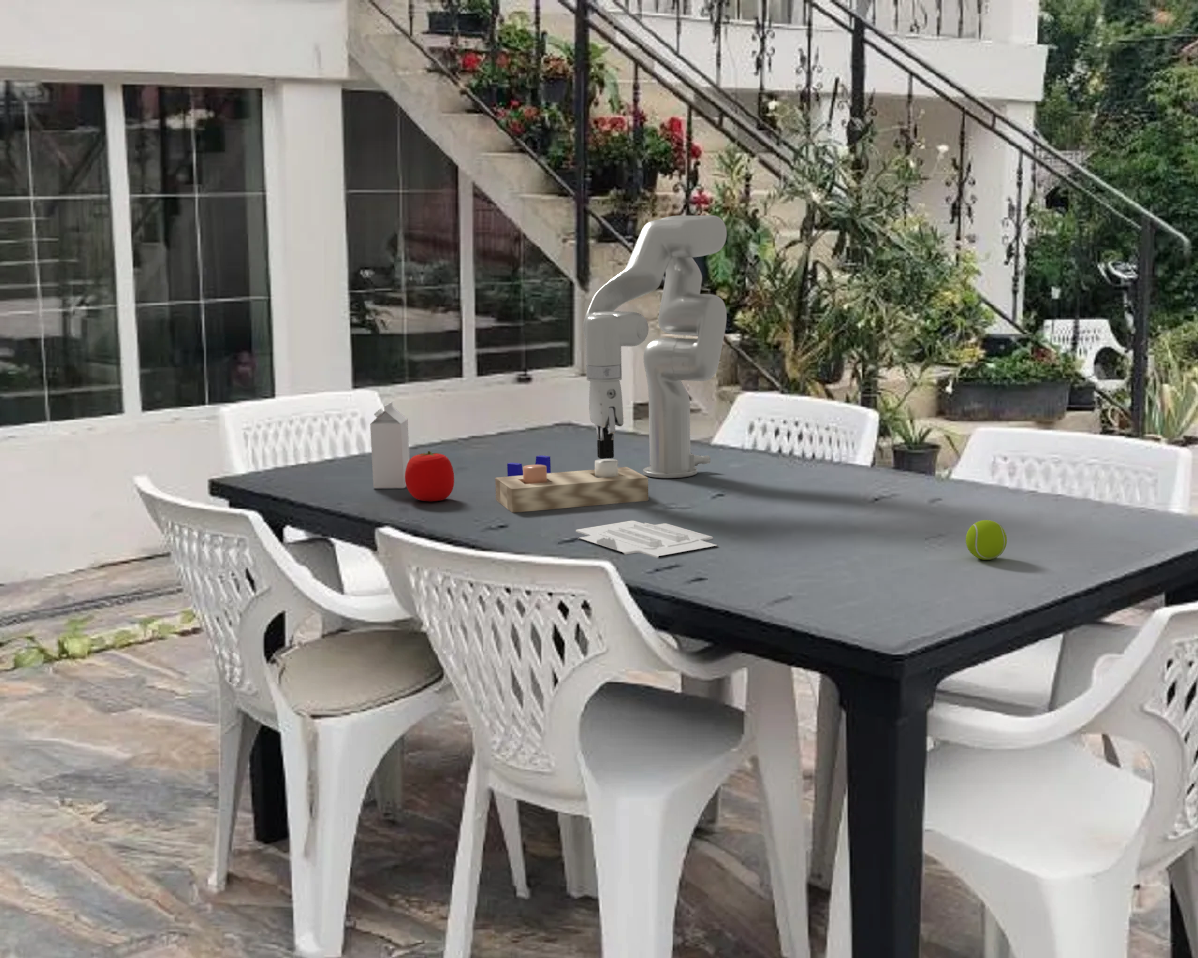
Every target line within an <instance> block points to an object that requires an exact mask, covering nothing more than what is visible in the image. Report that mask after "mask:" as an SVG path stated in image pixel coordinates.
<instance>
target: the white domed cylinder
mask: <svg viewBox="0 0 1198 958" xmlns="http://www.w3.org/2000/svg"><path fill="white" fill-rule="evenodd" d="M618 468H619V460H617V459H614V458H607V459H600V458H599V459H596V460H594V470H595V477H596V478H605V477H617V476H618Z"/></svg>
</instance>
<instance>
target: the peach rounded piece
mask: <svg viewBox="0 0 1198 958" xmlns="http://www.w3.org/2000/svg"><path fill="white" fill-rule="evenodd" d="M522 469H523V483H524V484H533V483H545V482H547V468H546V466H545V465H535V464H527V465H522Z"/></svg>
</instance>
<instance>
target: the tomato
mask: <svg viewBox="0 0 1198 958" xmlns="http://www.w3.org/2000/svg"><path fill="white" fill-rule="evenodd" d="M454 473H455V472H454V467H453V465H452V462H451V460H450V459H449V457H447V455H445V454H443V453H438V452H432V451H431V450H427V452H423V453H418V454H415V455H413V456H412V457H410V460H409V462H408V464H407V467H406V470H405V483H406V488H407V491H408V493H409V494H410V496H411V497H413V498H414V499H416V500H419V501H423V502H438V501H443V500H446V499H447V498H448V497H449V496H450V495H451V494H452V492H453V490H454V486H455V474H454Z"/></svg>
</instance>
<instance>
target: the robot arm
mask: <svg viewBox="0 0 1198 958" xmlns="http://www.w3.org/2000/svg"><path fill="white" fill-rule="evenodd" d="M727 232H728V231H727V227H726V224H725V222H724V221H723V220H722V218H720V217H719V216H717V215H672V216H666V217H663V218H659V219H653V220H650V221H648V222H646V224H644V226H643V227H642V229H641V231H640V233H639V235H638V238H637V240H636V242H635V244H634V247H633V249H632V252H631V253H630V256H629V259H628V262H627V263H626V266H625V268H624V270H622V271H621V272H619V273H618V274H616V275H615V276H613V277H612V278H611V279H610V280H608V282H606V283H605V284H603V286H602V287H600V288H598V289H599V290H597V292H596V293H595V294H594V296H593V297H592V299H591V301H590V303H589V306H588V308H587V311H586V313H585V316H584V320H583V323H582V333H583V336H584V339H585V362H586V363H585V365H586V366H585V368H586V370H585V371H586V381H587V382H589V391H588V392H589V394H588V395H589V396H588V403H589V404H588V410H589V411H588V412H589V420H590V422H591V423H592V424H594V426H595V430H596V438H597V440H596V446H597V447H596V448H597V449H596V451H597V458H598V459H599V460H600V459H614V457H615V447H614V446H615V445H614V444H615V443H614V439H615V434H616V432H617V431H616V426H617V427H622V426H623V425H624V423H625V422H624V421H625V420H624V407H623V395H622V394H623V393H622V386H621V381H622V380H623V379H622V378H623V377H622V372H623V371H622V347H627V348H628V347H629V348H630V347H636V346H639V345H641V344H642V343H643V342H644V341H646V339H647V337H648V335H649V323H648V320H647V318H646V317H645V316H644V315H642V314H641V313H639V312H635V311H621V310H620V311H619V310H617V309H618V308H619V307H620V306H622V305H624V304H626V303H628V302H630V301H633V300H635V299H639V298H642V297H643V296H646V295H648V294H650V293H652V292H655V291H656V290H657V289H658V288H659V287H660V286H661V283H662V281H663V278H664V275H665V278H664V284H663V290H662V295H661V301H660V306H659V310H658V311H659V312H658V316H657V317H658V319H657V320H658V322H657V323H658V326H659V328H660V330H661V331H662V332H664V333H665V334H668V335H677V336H695V337H697V338H682V337H681V338H678V337H659V338H656V339H654V340H650V342H648V343H647V345H645V348H644V351H643V354H642V355H643V359H642V360H643V366H644V371H645V376H646V382H647V390H648V391H647V393H648V394H647V395H648V428H649V429H648V430H649V431H648V433H649V434H648V435H649V436H648V437H649V438H648V439H649V466H646V467H644V468H643V469H642V472H643V474H642V475H644V476H646V477H648V478H650V477H651V478H657V479H680V478H687V477H693V476H695V475H697V474H698V468H697V466H698V465H705V464H706V465H709V464H711V461H712V460H711V456H710V455H697V454H694V453H691V417H690V416H691V400H690V396H689V392H688V391H687V388H686V387H685V385H684V384H683V382H682V381H688V382H689V381H690V382H692V381H693V382H706V381H709V380H711V379H712V378H714V376H715V375H716V374H717V372H718V369H719V364H720V359H721V354H722V348H723V343H724V338H725V333H726V327H727V319H728V318H727V316H728V315H727V314H728V313H727V309H726V308H727V307H726V303H725V302H724V300H723V299H722V298H721V297H720V296H718V295H716V294H712V293H711V294H710V293H701V289H702V283H703V275H702V272H701V270H700V267H699V266H698V263H696V261H695V259H694V258H697V257H698V258H699V257H704V256H709V255H713V254H716V253H718V252H720V251H721V250H722V249H723V247H724V245H725V244H726V241H727V235H728V234H727Z"/></svg>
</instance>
